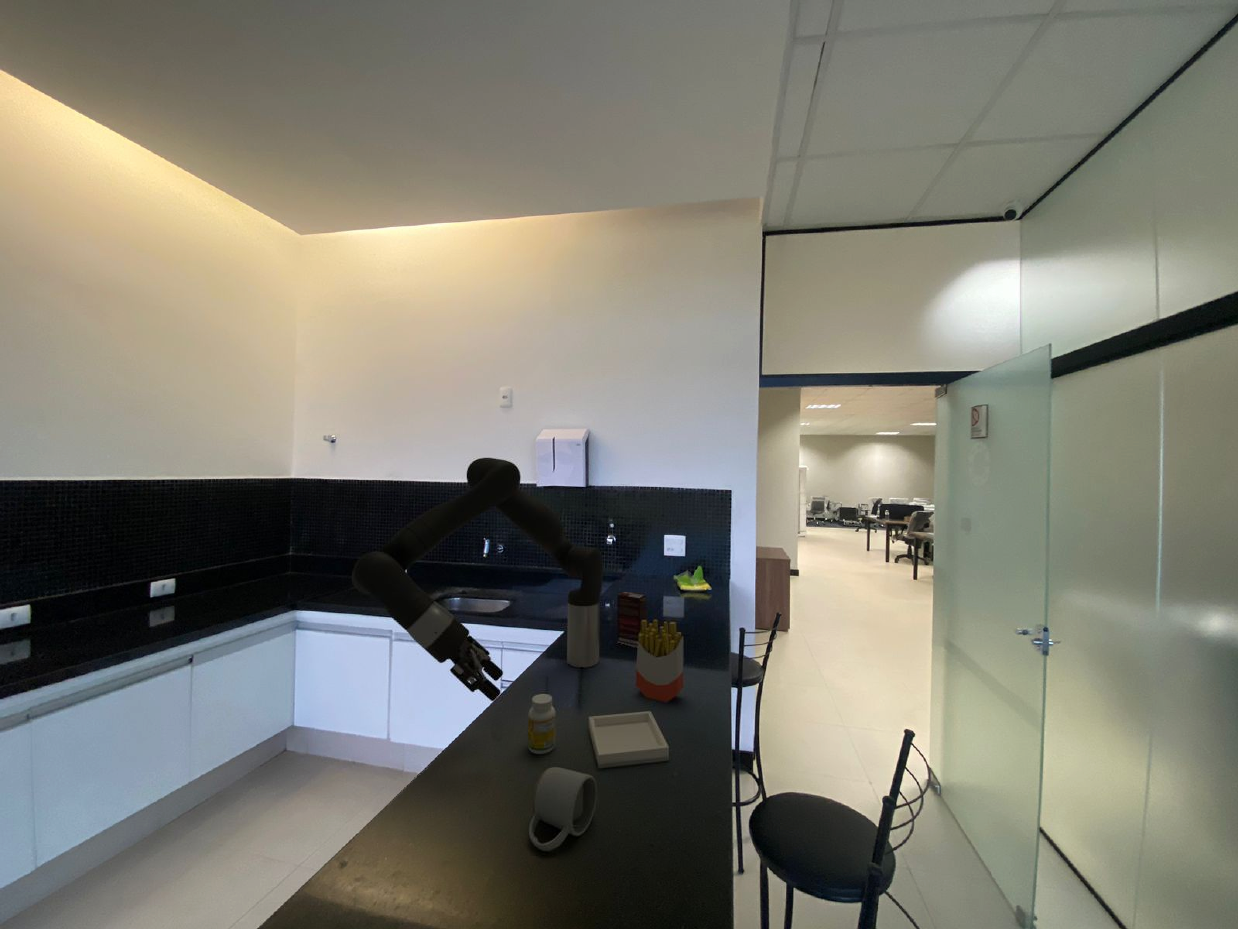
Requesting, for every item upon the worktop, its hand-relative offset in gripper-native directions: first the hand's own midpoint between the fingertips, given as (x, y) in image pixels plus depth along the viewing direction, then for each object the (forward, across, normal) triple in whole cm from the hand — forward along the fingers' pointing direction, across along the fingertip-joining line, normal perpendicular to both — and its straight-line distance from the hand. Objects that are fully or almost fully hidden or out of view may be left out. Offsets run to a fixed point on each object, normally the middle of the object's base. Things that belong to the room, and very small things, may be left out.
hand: (498, 686), depth 91 cm
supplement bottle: (+15, 0, +3) cm, 15 cm away
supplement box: (+36, +51, -18) cm, 65 cm away
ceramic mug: (+17, -22, +1) cm, 28 cm away
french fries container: (+36, +16, -17) cm, 43 cm away
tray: (+27, -2, -9) cm, 29 cm away
